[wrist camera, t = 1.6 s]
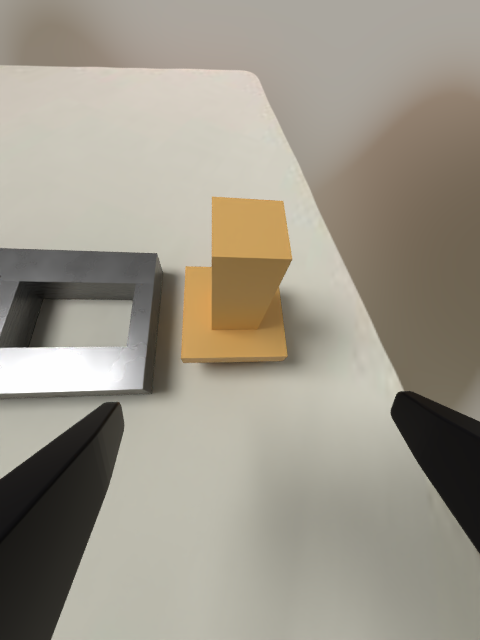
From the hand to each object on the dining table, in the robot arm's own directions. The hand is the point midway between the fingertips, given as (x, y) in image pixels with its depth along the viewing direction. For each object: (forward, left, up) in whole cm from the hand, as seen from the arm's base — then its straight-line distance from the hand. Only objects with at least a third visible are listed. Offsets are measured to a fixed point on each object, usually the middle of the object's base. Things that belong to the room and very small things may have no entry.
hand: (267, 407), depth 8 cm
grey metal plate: (+14, +12, -14) cm, 23 cm away
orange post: (+7, -3, -14) cm, 16 cm away
